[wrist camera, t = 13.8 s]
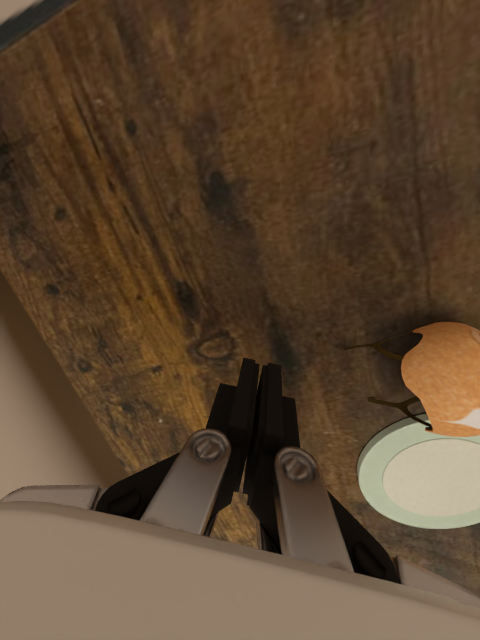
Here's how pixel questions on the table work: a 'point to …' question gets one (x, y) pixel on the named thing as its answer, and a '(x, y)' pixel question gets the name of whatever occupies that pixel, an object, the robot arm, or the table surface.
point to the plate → (422, 476)
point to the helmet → (442, 377)
